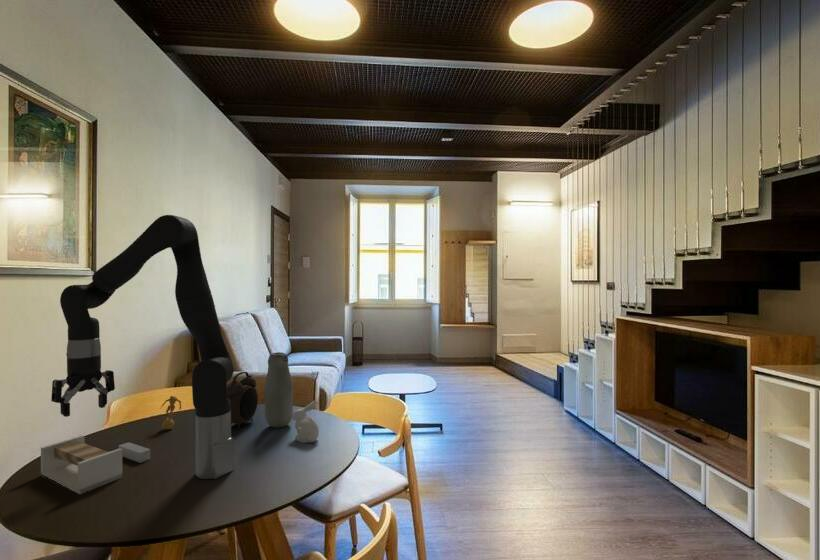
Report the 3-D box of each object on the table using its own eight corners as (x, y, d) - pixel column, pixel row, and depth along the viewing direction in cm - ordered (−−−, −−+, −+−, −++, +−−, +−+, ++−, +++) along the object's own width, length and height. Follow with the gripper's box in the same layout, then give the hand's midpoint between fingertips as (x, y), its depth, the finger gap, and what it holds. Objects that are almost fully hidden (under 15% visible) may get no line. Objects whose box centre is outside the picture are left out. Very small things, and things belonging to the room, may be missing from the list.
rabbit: (289, 436, 142) (289, 403, 142) (314, 430, 148) (314, 397, 148) (304, 447, 132) (304, 411, 132) (329, 440, 138) (329, 405, 138)
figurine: (153, 430, 148) (153, 398, 148) (165, 425, 154) (165, 393, 154) (174, 431, 147) (174, 399, 147) (185, 426, 153) (185, 394, 153)
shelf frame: (122, 477, 113) (122, 449, 113) (80, 494, 104) (80, 463, 104) (82, 461, 123) (82, 435, 123) (40, 475, 114) (40, 447, 114)
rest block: (150, 458, 125) (150, 449, 125) (140, 462, 122) (140, 453, 122) (128, 451, 130) (128, 442, 130) (118, 455, 127) (118, 445, 127)
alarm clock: (238, 432, 146) (238, 377, 146) (221, 431, 147) (221, 376, 147) (261, 418, 160) (261, 368, 160) (245, 417, 162) (244, 368, 162)
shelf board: (109, 461, 112) (109, 452, 112) (86, 469, 107) (86, 460, 107) (77, 449, 120) (77, 440, 120) (54, 456, 115) (54, 447, 115)
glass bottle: (295, 421, 157) (295, 350, 157) (288, 431, 147) (288, 355, 147) (269, 421, 157) (269, 350, 157) (261, 431, 147) (260, 355, 147)
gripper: (59, 360, 106) (60, 421, 106) (119, 351, 119) (119, 406, 119) (46, 358, 109) (47, 417, 109) (105, 349, 122) (106, 402, 122)
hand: (84, 411), depth 114 cm, fingers open, 8 cm apart
